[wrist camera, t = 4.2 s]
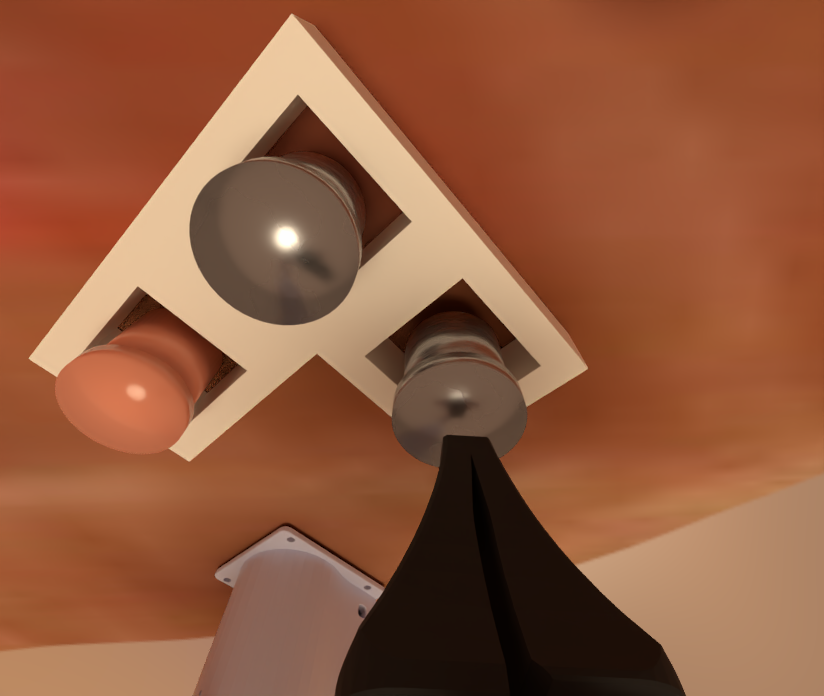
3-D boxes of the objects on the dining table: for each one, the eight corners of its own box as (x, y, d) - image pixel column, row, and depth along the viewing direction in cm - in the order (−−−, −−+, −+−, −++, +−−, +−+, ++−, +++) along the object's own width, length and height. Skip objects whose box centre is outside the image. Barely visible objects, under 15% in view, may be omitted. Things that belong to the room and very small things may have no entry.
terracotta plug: (249, 351, 20) (208, 413, 16) (193, 403, 22) (144, 471, 18) (160, 281, 18) (92, 332, 15) (107, 343, 20) (33, 403, 16)
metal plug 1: (400, 216, 16) (393, 258, 12) (316, 294, 18) (286, 352, 14) (303, 109, 14) (259, 117, 10) (220, 206, 16) (156, 244, 12)
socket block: (568, 333, 21) (588, 368, 18) (322, 496, 27) (311, 540, 25) (314, 25, 15) (291, 13, 12) (76, 325, 21) (28, 358, 19)
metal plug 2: (527, 357, 19) (553, 426, 15) (445, 412, 20) (449, 487, 17) (460, 282, 17) (470, 338, 13) (375, 349, 19) (363, 415, 15)
